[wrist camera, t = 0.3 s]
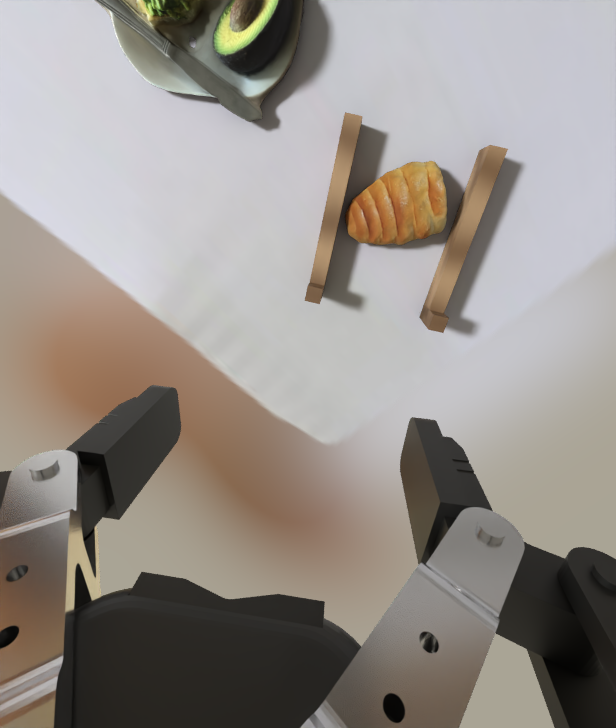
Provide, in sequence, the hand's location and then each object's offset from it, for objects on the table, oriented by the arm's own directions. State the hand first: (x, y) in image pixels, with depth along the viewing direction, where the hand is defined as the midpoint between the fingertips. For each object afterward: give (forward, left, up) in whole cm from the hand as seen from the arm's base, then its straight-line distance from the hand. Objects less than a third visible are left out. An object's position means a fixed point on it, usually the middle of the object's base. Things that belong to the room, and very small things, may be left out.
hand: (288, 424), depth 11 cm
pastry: (-8, +5, -28) cm, 30 cm away
